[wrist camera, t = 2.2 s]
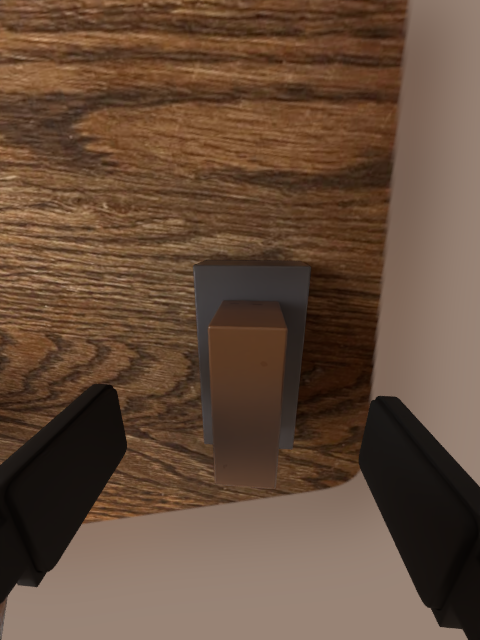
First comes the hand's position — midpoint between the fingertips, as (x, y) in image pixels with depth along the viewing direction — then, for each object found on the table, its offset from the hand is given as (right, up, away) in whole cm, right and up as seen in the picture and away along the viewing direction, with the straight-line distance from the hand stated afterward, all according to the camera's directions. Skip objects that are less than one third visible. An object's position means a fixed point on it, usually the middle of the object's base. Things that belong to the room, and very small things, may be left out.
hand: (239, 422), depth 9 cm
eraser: (+1, +2, +5) cm, 6 cm away
